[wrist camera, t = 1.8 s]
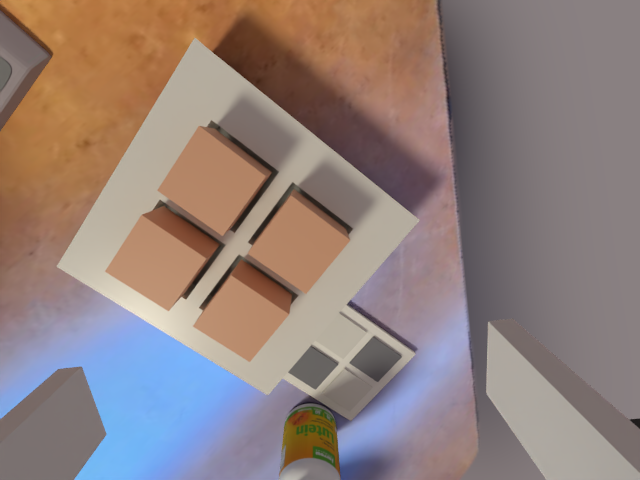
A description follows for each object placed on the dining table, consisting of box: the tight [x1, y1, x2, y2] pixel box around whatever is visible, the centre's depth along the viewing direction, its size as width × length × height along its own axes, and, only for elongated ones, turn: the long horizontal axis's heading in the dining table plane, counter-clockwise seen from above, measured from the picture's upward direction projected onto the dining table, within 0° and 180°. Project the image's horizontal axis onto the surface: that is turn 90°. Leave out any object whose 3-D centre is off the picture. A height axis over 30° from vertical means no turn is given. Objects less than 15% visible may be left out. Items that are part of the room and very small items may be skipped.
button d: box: [105, 206, 220, 311], centre depth 24 cm, size 5×5×3 cm
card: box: [283, 304, 415, 421], centre depth 32 cm, size 10×10×1 cm
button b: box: [193, 259, 292, 362], centre depth 25 cm, size 5×5×3 cm
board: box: [57, 38, 419, 395], centre depth 27 cm, size 20×20×4 cm
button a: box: [248, 189, 350, 294], centre depth 24 cm, size 5×5×3 cm
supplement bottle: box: [279, 403, 341, 480], centre depth 30 cm, size 5×5×10 cm
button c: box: [157, 126, 272, 236], centre depth 23 cm, size 5×5×3 cm
